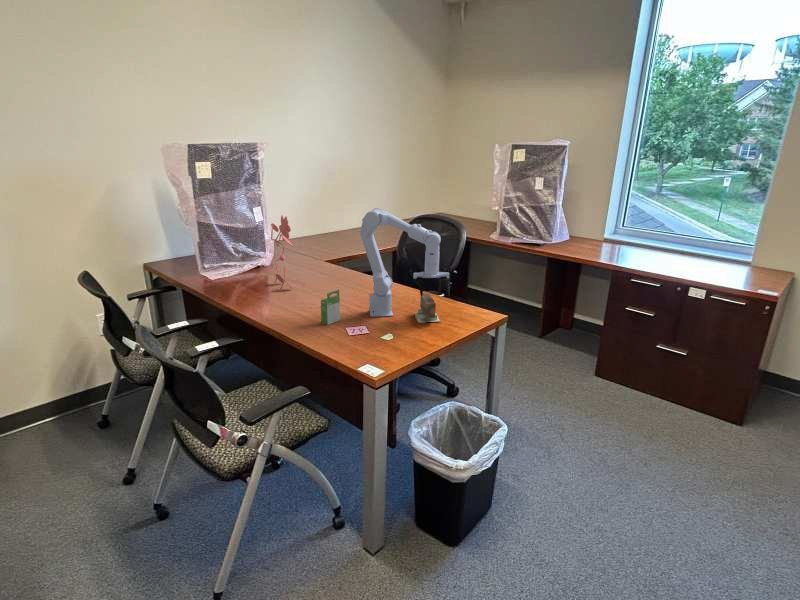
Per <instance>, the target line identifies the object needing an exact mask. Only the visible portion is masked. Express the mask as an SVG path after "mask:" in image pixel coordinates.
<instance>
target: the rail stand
mask: <svg viewBox="0 0 800 600" xmlns="http://www.w3.org/2000/svg"><path fill="white" fill-rule="evenodd" d="M414 317H415V319H416V321H417V323H418V324H427V323H426V322H440V323H441V319H439V316H438V313H436V312H435V318H426V317H425V315H424V313H423V311H422V309H421V308H417V312H414Z"/></svg>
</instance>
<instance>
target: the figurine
mask: <svg viewBox="0 0 800 600" xmlns="http://www.w3.org/2000/svg"><path fill="white" fill-rule="evenodd" d="M270 226H271V235H270V241H273V242H274V243H275V244H276V247H279V245H281V246H283V247H282V254H281V255H280V256H279V258H278V259H277V260H275V261H274V265H275V269H276V272H277V273H276V274H275V277H276V278H275V280H274V283H273V286H274V287H275V284H276V282H277V280H278V281H279V282H280V283H281V286H280V288H279V291H280V292H281V291H282V288H283V286H284V284H285V282H286V284H287V285H288V286H289V287H290V288H291V289H293V287H292V286H291V285H290V284H289V283H288V282H287V281H286V271H285V269H286V268H285V267H283V276H284V278H283V277H282V275H280V274H279V270H278V267H277V263H276V262H278V261H281V262H285V260H286V257H285V255H284V254H285V253H284V252H285V244H283V243H281V239H282V242H286V243H287V244H288V245H290V246H291V247H294V245H293V244H292V242H291V241H290V232H291V230H292V229H291V226H290V224H289V220H288V216H285V217H284V216H283V215H281V216H280V225H278V226H277V225H276V224H274V222H273V223H271V224H270ZM273 231H275V232H276V233H278V234H277V236H276V238H275V239H273ZM277 240H278V241H277ZM292 281H295V282H298V283H302V284H304V285H305V282H303V281H298V280H293V279H292ZM286 294H287V293H284V295H286Z"/></svg>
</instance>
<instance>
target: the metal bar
mask: <svg viewBox="0 0 800 600" xmlns="http://www.w3.org/2000/svg"><path fill="white" fill-rule="evenodd" d="M419 301H420V304H419V307H420V309H422V311H423V313H424V315H425V317H426V318H435V313H436V308H437V307H436V306H437V303H436V302H435V300H434V299H433V297H432V295H431V294H430V293H423V296H421V295H420V300H419Z"/></svg>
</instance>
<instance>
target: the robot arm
mask: <svg viewBox="0 0 800 600" xmlns="http://www.w3.org/2000/svg"><path fill="white" fill-rule="evenodd" d="M361 221H362V223H361V228H360V232H359V234H360V237H361V242H362V244H363V247H364V250H365V253H366V256H367V259H368V261H369V265H370V269H371V271H372V275H373V276H372V283H373V293H369V296H368V297H369V301H368V303H369V305H368V311H369V315H370V317H371V318H372V317H393V316H394V313H393V311H392V295H393V294H392V293H393V292H392V290H391V288H392V287H393V284H394V283H393V279H392V278H391V277H390V276H389V274H388V272H387V270H386V268H385V266H384V262H383V261H382V256H381V254H380V250H379V247H378V244H377V240H376V238H375V235H374V234H375V231H376V230H377V228H378V227H379V225H380V226H387V225H390V226H392V227H394V228H396V229H399V230H400V231H403V232H406V234H407V235H408V237H409V238H410V239H413V240H415V241H416V242H419V243H421V244H424V245H425V253H424V254H425V256H424V257H425V258H424V271H420V272H413V279H415V280H416V282H417V285H418V288H419V295H420V297H421V296H423V294H424V291H423V290H424V288H423V287H424V279H434V278H435V279H438V291H437V292H438V293H437V294H438V296H441V295H442V293H443V289H444V287H445V285H446V283H447V282H448V279H450V272H447V271H446V272H445V271H443V272H442V271H440V250H441V249H440V244H441V242H442V241H441V240H442V237H441V235H440V234H439V233H438V232H437V231H432V229H427V228H425V227H423V226H422V224H420V223H418V224H417V223H413V224H410V223H408V222H406V221H405V220H403V219H401V218H399V217H398V216H395V215H394V214H392V213H390V212H389V211H386V210H382V209H381V208H379V207H378V208H377V207H376V208H373V209H371V211H368V212H366V213H365V215H364V216H363V218H362V219H361Z"/></svg>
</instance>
